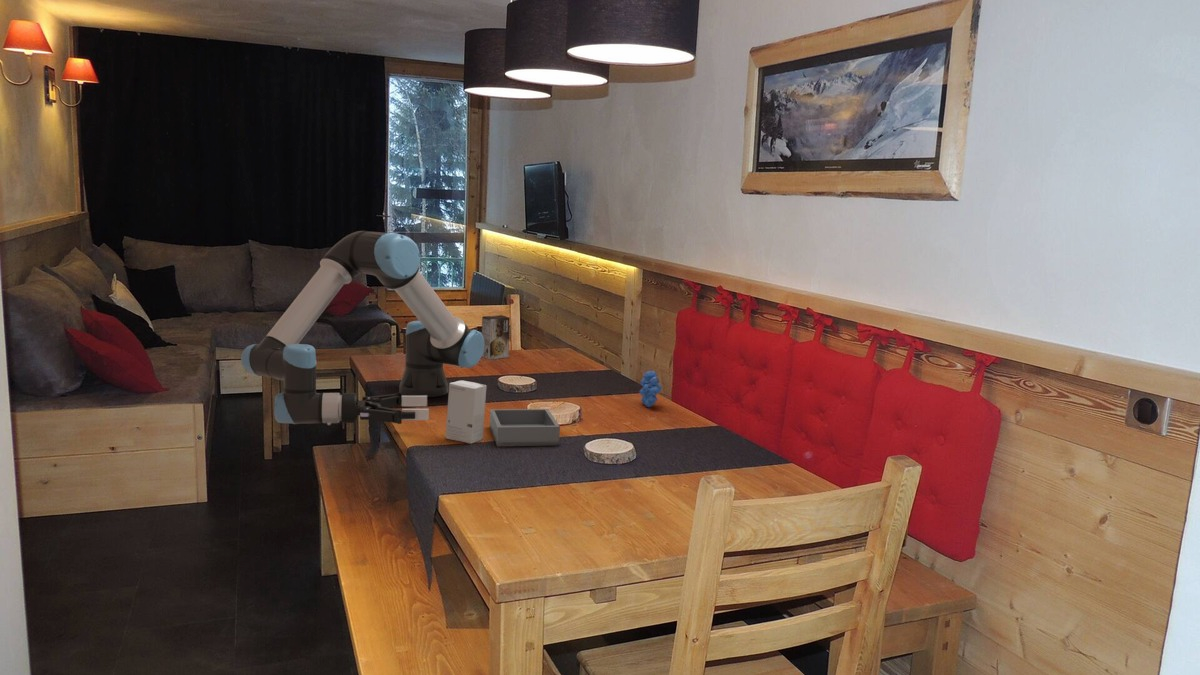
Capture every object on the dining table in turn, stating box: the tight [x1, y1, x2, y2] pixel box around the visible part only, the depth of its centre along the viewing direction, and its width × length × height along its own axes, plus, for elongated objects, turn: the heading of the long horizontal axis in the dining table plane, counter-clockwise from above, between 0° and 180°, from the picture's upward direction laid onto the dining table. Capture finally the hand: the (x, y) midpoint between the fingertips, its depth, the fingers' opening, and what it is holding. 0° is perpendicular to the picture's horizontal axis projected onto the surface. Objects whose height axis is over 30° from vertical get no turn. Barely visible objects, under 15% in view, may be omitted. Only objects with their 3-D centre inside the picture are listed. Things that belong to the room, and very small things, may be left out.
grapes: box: [639, 370, 663, 408], centre depth 260 cm, size 12×7×12 cm, turn 18°
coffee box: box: [481, 314, 511, 360], centre depth 326 cm, size 9×6×16 cm
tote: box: [489, 408, 561, 447], centre depth 223 cm, size 18×16×5 cm
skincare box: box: [445, 379, 487, 444], centre depth 216 cm, size 8×6×15 cm
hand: (428, 407), depth 214 cm, fingers open, 13 cm apart
